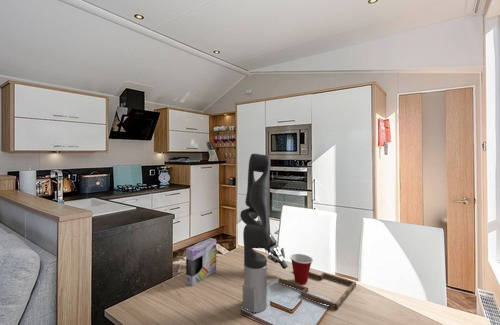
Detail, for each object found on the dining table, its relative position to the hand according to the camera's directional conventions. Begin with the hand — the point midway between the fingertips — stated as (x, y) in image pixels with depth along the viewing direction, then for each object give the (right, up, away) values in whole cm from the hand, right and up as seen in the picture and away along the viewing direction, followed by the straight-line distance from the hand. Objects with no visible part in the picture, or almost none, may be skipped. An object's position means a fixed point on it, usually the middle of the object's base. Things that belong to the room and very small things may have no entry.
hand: (285, 267), depth 131 cm
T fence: (+12, -5, -10) cm, 16 cm away
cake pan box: (-43, -5, -1) cm, 43 cm away
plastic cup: (+7, -5, -5) cm, 10 cm away
